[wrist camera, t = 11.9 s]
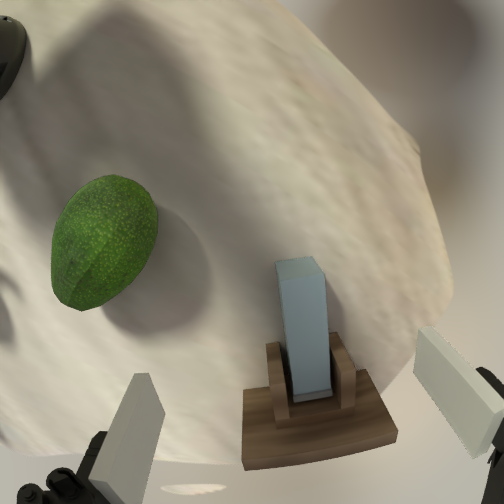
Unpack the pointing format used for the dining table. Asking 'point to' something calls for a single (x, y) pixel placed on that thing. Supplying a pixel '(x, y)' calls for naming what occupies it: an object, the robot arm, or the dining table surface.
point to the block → (305, 327)
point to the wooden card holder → (313, 416)
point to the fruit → (102, 241)
